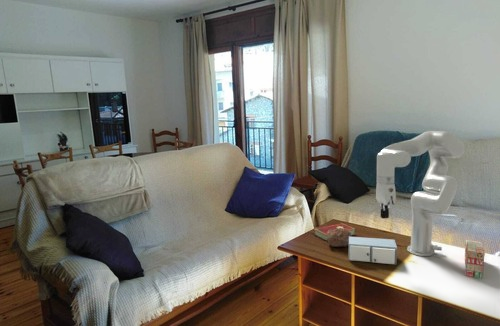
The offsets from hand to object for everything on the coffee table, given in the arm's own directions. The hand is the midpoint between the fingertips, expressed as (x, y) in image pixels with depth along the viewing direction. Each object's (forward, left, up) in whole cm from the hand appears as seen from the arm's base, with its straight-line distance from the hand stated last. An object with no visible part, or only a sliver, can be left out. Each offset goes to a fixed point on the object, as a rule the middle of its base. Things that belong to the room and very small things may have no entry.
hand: (384, 217), depth 162 cm
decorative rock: (+21, -21, -24) cm, 38 cm away
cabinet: (+5, -8, -24) cm, 25 cm away
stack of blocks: (-40, -7, -24) cm, 47 cm away
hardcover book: (+23, -37, -25) cm, 50 cm away
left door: (-1, -1, -24) cm, 23 cm away
